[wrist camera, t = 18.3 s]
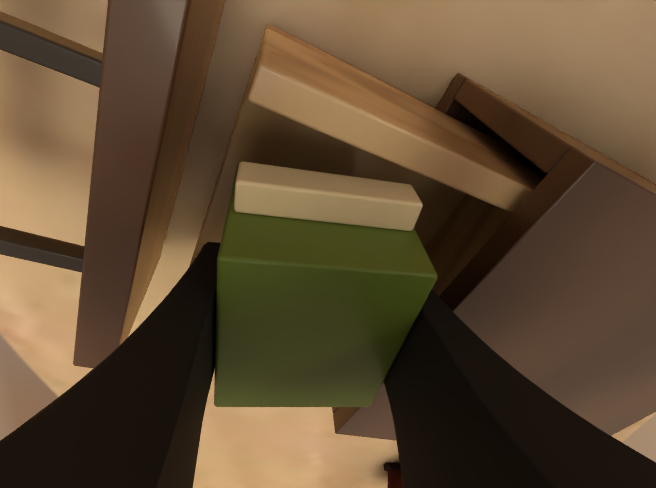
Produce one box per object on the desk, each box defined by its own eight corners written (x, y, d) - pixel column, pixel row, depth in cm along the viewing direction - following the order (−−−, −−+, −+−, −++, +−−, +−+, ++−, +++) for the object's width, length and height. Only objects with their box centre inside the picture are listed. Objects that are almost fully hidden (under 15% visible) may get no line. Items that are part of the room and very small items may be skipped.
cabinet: (318, 294, 20) (334, 434, 14) (457, 72, 14) (596, 160, 8) (498, 340, 25) (566, 460, 19) (667, 191, 18) (855, 304, 12)
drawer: (-3, 216, 14) (-135, 336, 10) (-31, -169, 8) (-409, -325, 4) (373, 311, 20) (400, 413, 16) (516, 126, 14) (627, 205, 10)
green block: (238, 133, 9) (217, 222, 6) (401, 158, 10) (456, 246, 7) (228, 314, 13) (213, 422, 10) (345, 320, 14) (363, 421, 11)
